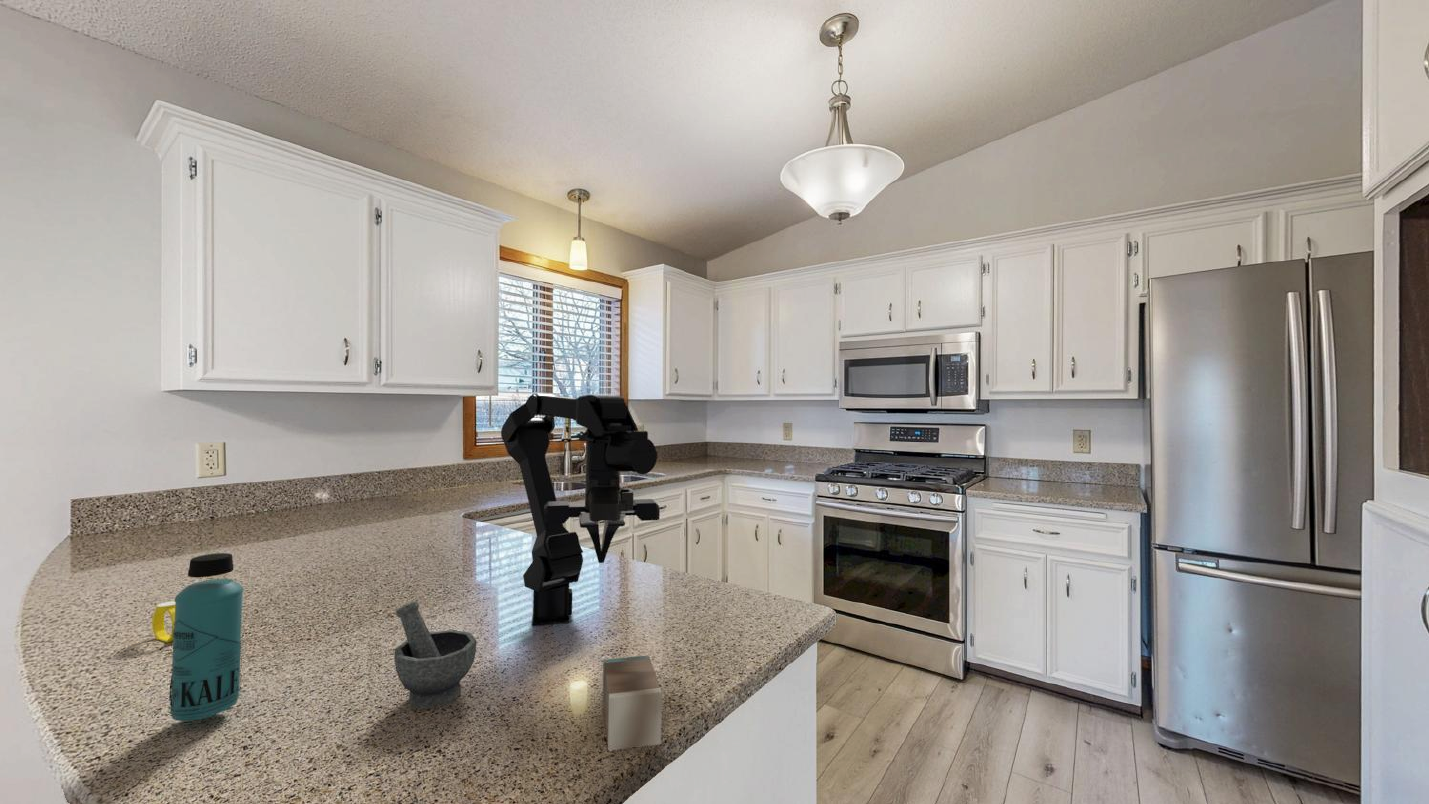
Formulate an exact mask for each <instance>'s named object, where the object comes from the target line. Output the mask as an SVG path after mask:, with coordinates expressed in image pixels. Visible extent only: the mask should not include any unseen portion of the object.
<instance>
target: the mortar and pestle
mask: <svg viewBox="0 0 1429 804" xmlns="http://www.w3.org/2000/svg"><path fill="white" fill-rule="evenodd" d="M419 607H420V605H419V603H418V601H411V602H407V603H406V604H403V605H402V606H400V607H399V608H398V609H397V610H396V611H395V613H396V617H397V618H400V621H401V623H402V628H403V630H404V635H405V638H406V640H405V641H403V642H402V643H401V644H400V645H398V646H397V647H396V648H395V649H394V658H393V659H394V666H395V672H396V674H397V677H398V679H399V681H400V683H401V684H402V686H403V688H404V689H405V690H407V691H408V692H409V693H408V694H409V695H408V702H409V704H410V706H411V707H412V708H417V709H422V710H427V709H432V708H434V709H435V708H439V707H442V706H445V705H447V704H449V703H451V702H453V701H456V699H457V698H458V697H459V696H460V695H461V694H462V691H461V690H462V688H461V687H462V686H461V683H460V682H462V680H463V679H464V677H465V676H466V675H467V674H468V673H469V672H470V669H472V666H473V665H474V662H475V658H476V653H477V639H476V638H475V636H474V635H473V634H472V632H468V631H462V630H454V629H450V630H441V631H440V630H439V631H432V632H431V631H429V629H428V627H427V625H426V623H425V621H424V618H423V617H422V615H421V613H420V611H419Z"/></svg>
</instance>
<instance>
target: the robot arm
mask: <svg viewBox="0 0 1429 804" xmlns="http://www.w3.org/2000/svg"><path fill="white" fill-rule="evenodd" d="M536 416H544V417H543V418H542V419H541V418H540V417H539V418H538V417H537V418H536ZM555 418H562V419H569V420H570V419H571V420H573V421H575V423H576V424H577V425H579V426H580V427H583V428H585V429H586V430H585V431H584V432H583V433H582V434H581V435H580V436H579V437H578V440H579V441H580V442H585V443H586V444H585V445H586V446H585V486H584V491H585V492H584V505H570V504H569V503H570V501H569V500H560V501H559V500H558V501H557V496H556V493H555V492H556V491H555V490H554V485H553V481H552V478H551V474H550V473H551V472H550V471H549V467H548V463H547V458H546V455H547V453H548V449H549V447H550V444H551V442H550V435H551V434H552V432H553V430H555V427H556V425H555ZM637 426H638V425H637V424H636V422H635V421H634V418H633V416H632V414H631V412H630V410H629V407H628V405H627V403H626V402H625V398H624V397H623V396H621V395H608V394H587V395H581V396H578V398H577V397H569V396H560V395H559V396H558V395H555V394H554V393H553V394H551V393H549V394H547V393H533V394H531V395H530V396H528V398H527V400H526V401H525V402H524V403H523V404H522V405H521V406H519V407H518V408H516V409H515V410H514V411H511V413H510V414H509V416H508V417H507V418H506V420H505V422H504V423H503V424H502V427H501V430H500V437H501V439H502V441H503V444H504V447H505V449H506V452H507V454H508V455H509V456H510V457H511V458H512V459H513V460H514V461H515V462H516V463H517V465H519V468H520V472H521V476H522V481H523V485H524V488H525V493H526V497H527V501H528V505H529V508H530V513H531V517H532V522H533V526H534V530H535V533H536V537H535V541H534V544H533V547H532V550H531V556H532V557H531V558H532V562H531V563H530V564H529V566H528V567H527V569H526V570H525V572H524V573H523V576H522V577H523V584H524V587H526V589H530V590H532V591H533V601H532V605H533V606H532V617H531V618H532V619H531V625H532V626H537V625H549V624H551V625H552V624H561V623H569V622H570V616H572V615H573V589H572V588H570V584H572V583H577V582H579V578H580V574H581V570H582V567H583V563H584V557H583V554H582V553H584V552H583V551H584V550H583V549H582V547H581V543H580V541H579V535H578V533H577V532H576V531H569V530H568V529H567V528H565V526H564V524H565V523H566V522H567V521H568V520H569V519H570V518H578V519H579V520H578V521H579V527H580V528H582V529H586V530H587V532H588V533H589V534H588V535H589V536H590V539H591V541H592V543H593V547H594V550H595V554H596V557H597V561H598V563H599V564H604V563H605V560H606V557H607V554H608V552H609V549H610V545H611V543H612V540H613V538H614V536H615V534H616V532H617V531H618V529H619V528H620V527H625V526H626V522H625V520H624V519H625V518H626V516H636V518H638V519H639V520H640V521H641V522H643V521H645V522H646V521H659V520H660V516H661V515H660V514H661V513H660V512H661V511H660V506H659V504H658V503H657V502H656V501H655V500H654V499H652V498H643V499H642V498H641V499H638V498H637V499H635V498H634V490H633V489H634V488H621V473H629V474H637V475H646V474H649V473H650V472H652V470H653V469H654V468H655V465H656V463H657V460H658V451H657V449H656V446H655V445H654V443H653V442H652V440H651V439H649V435H648V434H649V432H648V431H647V430H639V429H638V427H637ZM602 521H604V524H603V531H602V539H601V538H600V527H599V522H602Z"/></svg>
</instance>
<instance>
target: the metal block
mask: <svg viewBox="0 0 1429 804" xmlns="http://www.w3.org/2000/svg"><path fill="white" fill-rule="evenodd" d="M602 662H603V664H602V707H601V708H602V712H603V721H604V727H605V728H606V729H605V735H606V742H607V750H609V751H608V752H612V751H611V750H616V751H618V750H617V749H623V750H626V749H625V748H630V749H636V747H637V748H641V747H642V746H644V747H650V746H657V745H662V715H663V714H662V710H663V709H662V704H663V702H662V700H663V691H662V689H661V685H660V683H659V680H658V678H657V675H656V672H655V669H654V665H653V662H652V660H651V657H650V655H648V654H647V655H638V656H629V657H619V658H608V659H603V660H602ZM647 745H648V746H647ZM633 747H635V748H633ZM642 748H643V747H642Z"/></svg>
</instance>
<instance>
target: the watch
mask: <svg viewBox="0 0 1429 804" xmlns="http://www.w3.org/2000/svg"><path fill="white" fill-rule="evenodd" d="M166 611H167V613H168V614H169V617H170V620H171V633H170V635H169V634H168V633H167V631H166V628H165V622H164V621H165V614H166ZM174 622H175V600H174V601H173V600H172V601H166V602H162V603H160V604H157V605H156V606H155V610H154V613H153V616H152V623H151V626H152V631H153V632H152V633H153V634H154V636H155V639H156V640H157V641H161V642H165V643H167V644H169V643H171V642H172V643H173V637H172V633H173V636H174V630H173V629H174V625H173V624H174ZM172 628H173V629H172Z"/></svg>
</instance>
